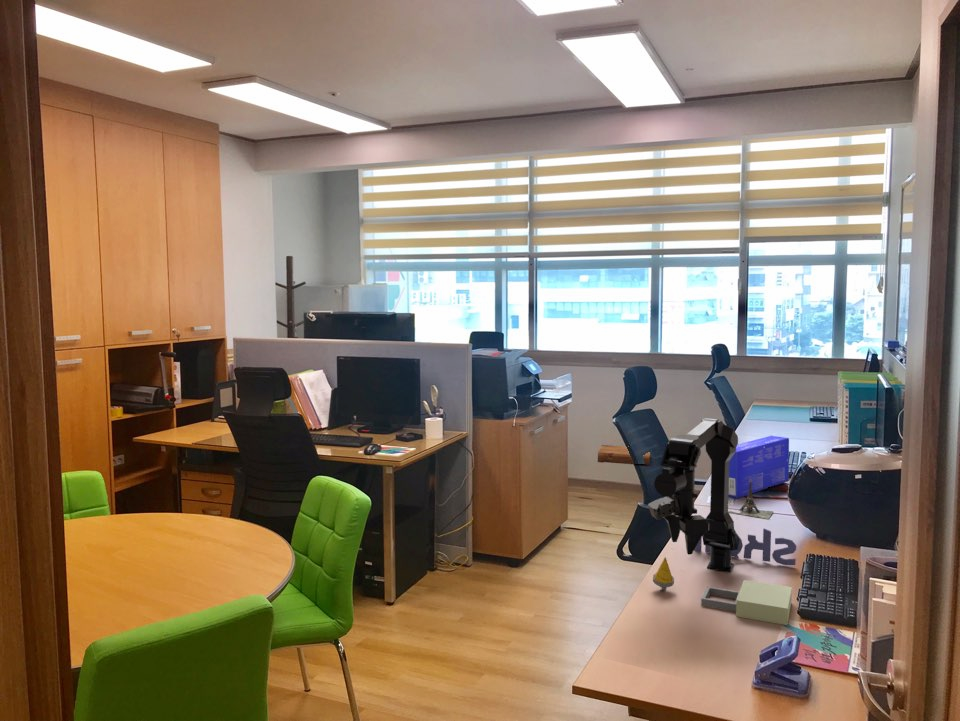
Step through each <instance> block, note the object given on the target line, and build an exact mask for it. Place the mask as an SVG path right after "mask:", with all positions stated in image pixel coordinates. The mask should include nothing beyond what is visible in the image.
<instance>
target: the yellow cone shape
mask: <svg viewBox="0 0 960 721" xmlns="http://www.w3.org/2000/svg"><path fill="white" fill-rule="evenodd" d="M652 582H653V583H654V585H656V586H658V587H661V588H660V589H661V591H663V592H666V591H667V588H671V587H673V586H674V584H675V577H674V576H673V575H672V572H671V569H670V567H669V563H668V560H667V557H664V558H663V560H662V562H661V564H660V566H659V568H658V569H657V571H656V573H654V574H653V576H652Z"/></svg>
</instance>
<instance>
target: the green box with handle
mask: <svg viewBox="0 0 960 721" xmlns="http://www.w3.org/2000/svg"><path fill="white" fill-rule="evenodd" d="M704 590H705V591H704V592H703V595H702V596H701V599H700V605H701V606H703V607H708V608H713V609H719V610H725V611H729V612H735V617H738V618H742V619H743V618H745V619H750V620H754V621H755V620H757V621H761V622H766V623H773V624H779V625H784V626H788V624H789V618H790V612H791V607H792V601H793V600H792V598H793V597H792V596H793V595H792V594H793V593H792V592H793V587H791V586H785V585H780V584H772V583H766V582H759V581H753V580H746V579H743V582H742V584H741V585H740V590H738V591H737V590H732V589H731V590H730V589H725V588H718V587H713V586H706V588H705V589H704ZM710 596H715V597H721V598H727V599H733V600H735V601H734V602H731V601H727V600H726V601H725V600H719V599H713V598H710Z"/></svg>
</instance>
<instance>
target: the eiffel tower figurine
mask: <svg viewBox="0 0 960 721" xmlns="http://www.w3.org/2000/svg"><path fill="white" fill-rule="evenodd" d="M749 481H750V483H749V492H748V495H747V496H746V500H745V502H744V503H743V505H742V507H741V508H740V509H738V511H739V512H735V511H731V510H728V513H729V514H734V515H742V516H747V517H748V516H749V517H755V518H760V519H761V518H762V519H767V520H769V519H770V518H771V516H772V515H773V513H774V511H773V510H761V509H759V508H758V507H757V506H756V503H755V502H754V497H753V493H752V487H751V481H752V480H751V476H750V479H749Z"/></svg>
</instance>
